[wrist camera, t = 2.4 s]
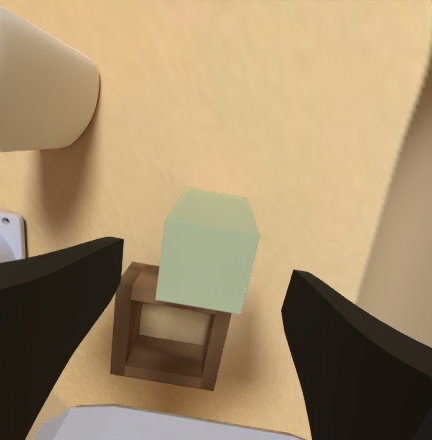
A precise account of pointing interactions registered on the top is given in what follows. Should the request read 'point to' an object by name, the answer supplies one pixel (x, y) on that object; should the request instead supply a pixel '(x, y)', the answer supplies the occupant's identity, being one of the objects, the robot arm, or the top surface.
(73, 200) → the top surface
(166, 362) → the socket block
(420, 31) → the top surface
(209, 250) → the pale green block
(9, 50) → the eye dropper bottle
